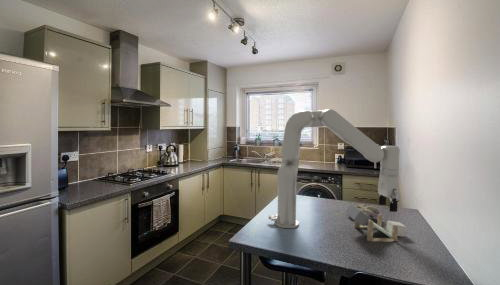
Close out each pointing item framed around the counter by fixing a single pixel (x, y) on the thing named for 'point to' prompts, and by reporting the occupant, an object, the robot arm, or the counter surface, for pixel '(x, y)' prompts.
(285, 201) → the robot arm
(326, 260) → the counter surface
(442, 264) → the counter surface
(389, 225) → the cube
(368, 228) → the frame
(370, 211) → the geode
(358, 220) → the trapdoor
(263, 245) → the counter surface
